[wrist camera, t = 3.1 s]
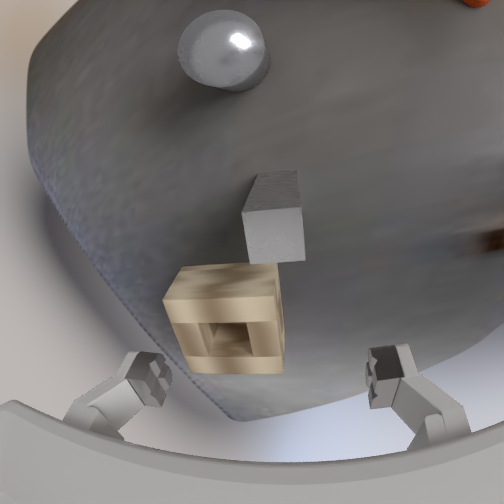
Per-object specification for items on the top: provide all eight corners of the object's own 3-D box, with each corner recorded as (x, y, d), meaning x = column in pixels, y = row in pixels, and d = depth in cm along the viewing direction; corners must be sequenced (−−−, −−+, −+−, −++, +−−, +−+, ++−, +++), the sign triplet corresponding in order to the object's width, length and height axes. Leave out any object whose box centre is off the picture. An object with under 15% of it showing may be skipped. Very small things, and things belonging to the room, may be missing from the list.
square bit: (296, 170, 25) (301, 207, 16) (300, 206, 27) (305, 260, 18) (257, 174, 26) (241, 212, 17) (262, 209, 27) (250, 264, 19)
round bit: (264, 29, 20) (256, 3, 13) (274, 86, 22) (269, 79, 16) (201, 40, 21) (172, 21, 14) (210, 96, 23) (184, 94, 17)
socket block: (276, 260, 30) (273, 295, 24) (285, 334, 34) (283, 373, 29) (182, 266, 31) (162, 300, 26) (203, 336, 36) (191, 372, 30)
